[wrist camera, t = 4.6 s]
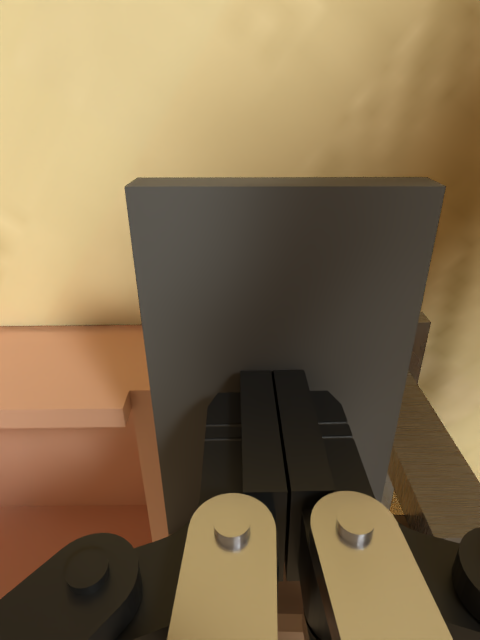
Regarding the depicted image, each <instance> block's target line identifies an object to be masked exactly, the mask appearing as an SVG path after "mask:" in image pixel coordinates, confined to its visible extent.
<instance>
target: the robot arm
mask: <svg viewBox="0 0 480 640" xmlns="http://www.w3.org/2000/svg"><path fill="white" fill-rule="evenodd" d="M284 563H285V572H286V581H300V586H301V593H302V600H303V612H302V629H303V635H304V640H480V527H479V528H475V529H473V530H471V531H469V532H468V533H466V534H465V535H464V537H463V538H462V540H461V542H460V543H456V542H453V541H449V540H445V539H441V538H438V537H434V536H430V535H426V534H423V533H420V532H417V531H414V530H412V529H409V528H407V527H405V526H404V525H402V524H400V523H398V522H397V521H396V519H395V518H394V516H393V515H392V513H391V512H390V511H389V510H388V509H387V508H386V507H385V506H384V505H383V504H382V503H380V502H379V501H377V500H376V498H375V496H374V494H373V491H372V488H371V485H370V483H369V480H368V477H367V474H366V471H365V469H364V466H363V463H362V460H361V457H360V455H359V452H358V449H357V446H356V443H355V441H354V439H353V437H352V432H351V429H350V427H349V424H348V423H347V418H346V415H345V413H344V410H343V407H342V404H341V403H340V402H339V401H338V400H337V399H336V398H335V397H334V396H333V395H332V394H331V393H330V392H329V391H328V390H325V391H310V390H309V386H308V382H307V378H306V374H305V371H304V370H303V369H300V370H273V371H272V375H271V370H253V371H240V392H227V393H217V395H216V396H215V397H214V399H213V400H212V402H211V403H210V404H209V406H208V407H207V419H206V430H205V442H204V454H203V465H202V477H201V488H200V498H199V504H198V506H197V509H196V511H195V513H194V514H193V516H192V517H191V519H190V520H189V521H188V522H187V523H186V524H185V525H184V526H183V527H182V528H181V529H179V530H178V531H177V532H175V533H173V534H172V535H170V536H168V537H165V538H163V539H160V540H157V541H154V542H151V543H148V544H145V545H142V546H139V547H136V548H133V546H132V545H131V544H130V543H129V542H128V541H127V540H126V539H124V538H123V537H121V536H118V535H116V534H111V533H94V534H90V535H86V536H83V537H81V538H78V539H76V540H74V541H73V542H71V543H69V544H68V545H66V546H65V547H63V548H62V549H61V550H60V551H58V552H57V553H56V554H55V555H53V556H52V557H51V558H50V559H49V560H47V561H46V562H45V563H44V564H43V565H41V566H40V567H39V568H38V569H36V570H35V571H34V572H33V573H32V574H30V575H29V576H28V577H27V578H25V579H24V580H23V581H22V582H21V583H19V584H18V585H17V586H16V587H15V588H13V589H12V590H11V591H10V592H8V593H7V594H6V595H5V596H4V597H2V598H1V599H0V640H278V634H277V605H278V582H281V581H283V574H284Z"/></svg>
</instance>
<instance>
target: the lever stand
mask: <svg viewBox="0 0 480 640" xmlns="http://www.w3.org/2000/svg"><path fill="white" fill-rule="evenodd" d="M430 324H431V322H430V321H429V320H428V318H427V317H426V316H425V315H424V314H423V313H422V312H420V315H419V320H418V325H417V330H416V335H415V340H414V345H413V349H412V354H411V359H410V364H409V369H408V374H407V379H406V384H405V388H404V393H403V398H402V403H401V408H400V413H399V418H398V423H397V427H396V432H395V437H394V442H393V447H392V452H391V457H390V462H389V466H388V471H387V476H386V481H385V486H384V491H383V496H382V501H381V503H382V504H383V505H384V506H385V507H386V508H387V509H388V510H390V506H391V501H392V497H393V492H394V490H395V493H396V495H397V498H398V500H399V503H400V505H401V508H402V510H403V513H404V515H405V518H406V520H407V523H408V525H409V528H410V529H412V530H414V531H417V532H420V533H423V534H426V535H430V536H434V537H438V538H441V539H445V540H449V541H453V542H456V543H460V542H461V540H462V538H463V537H464V535H465V534H466V533H468V532H469V531H471V530H473V529H475V528H479V527H480V482H479V481H478V479H477V478H476V476H475V474H474V473H473V471H472V470H471V468H470V466H469V465H468V463H467V462H466V460H465V459H464V457H463V455H462V454H461V452H460V451H459V449H458V447H457V446H456V444H455V443H454V441H453V440H452V438H451V436H450V435H449V433H448V432H447V430H446V428H445V427H444V425H443V424H442V422H441V421H440V419H439V417H438V416H437V414H436V413H435V411H434V409H433V408H432V406H431V405H430V403H429V401H428V400H427V398H426V397H425V395H424V394H423V392H422V390H421V389H420V387H419V386H418V384H417V383H418V379H419V374H420V370H421V365H422V360H423V356H424V351H425V347H426V342H427V338H428V333H429V329H430Z"/></svg>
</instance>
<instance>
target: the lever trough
mask: <svg viewBox="0 0 480 640" xmlns="http://www.w3.org/2000/svg"><path fill="white" fill-rule="evenodd" d="M445 188H446V186H444V185H442V184H440V183H438V182H436V181H434V180H432V179H430V178H428V177H296V178H136V179H135V180H133V181H132V182H131V183H129V184H128V185H126V186H125V194H126V202H127V210H128V218H129V226H130V234H131V242H132V250H133V258H134V266H135V274H136V281H137V289H138V297H139V305H140V313H141V321H142V329H143V337H144V345H145V353H146V361H147V369H148V376H149V384H150V392H151V400H152V408H153V416H154V424H155V432H156V440H157V448H158V456H159V464H160V472H161V479H162V487H163V495H164V503H165V511H166V519H167V527H168V536H170V535H172V534H173V533H175V532H177V531H178V530H179V529H181V528H182V527H183V526H184V525H185V524H186V523H187V522H188V521H189V520H190V519H191V517H192V516H193V514H194V513H195V511H196V509H197V506H198V504H199V498H200V488H201V477H202V465H203V454H204V442H205V430H206V419H207V407H208V406H209V404H210V403H211V402H212V400H213V399H214V397H215V396H216V395H217V393H227V392H240V371H253V370H271V375H272V371H273V370H300V369H303V370H304V371H305V374H306V378H307V382H308V386H309V390H310V391H325V390H328V391H329V392H330V393H331V394H332V395H333V396H334V397H335V398H336V399H337V400H338V401H339V402H340V403H341V404H342V407H343V410H344V413H345V415H346V418H347V423H348V424H349V427H350V429H351V432H352V437H353V439H354V441H355V443H356V446H357V449H358V452H359V455H360V457H361V460H362V463H363V466H364V469H365V471H366V474H367V477H368V480H369V483H370V485H371V488H372V491H373V494H374V496H375V498H376V500H377V501H379V502H380V503H381V501H382V496H383V491H384V486H385V481H386V476H387V471H388V466H389V462H390V457H391V452H392V447H393V442H394V437H395V432H396V427H397V423H398V418H399V413H400V408H401V403H402V398H403V393H404V388H405V384H406V379H407V374H408V369H409V364H410V359H411V354H412V349H413V345H414V340H415V335H416V330H417V325H418V320H419V315H420V310H421V306H422V301H423V296H424V291H425V286H426V281H427V276H428V271H429V266H430V262H431V257H432V252H433V247H434V242H435V237H436V232H437V227H438V223H439V218H440V213H441V208H442V203H443V198H444V193H445ZM393 516H394V518H395V519H396V521H397V522H398V523H400V524H402V525H404V526H405V527H407V528H409V525H408V523H407V520H406V518H405V515H393ZM409 529H410V528H409ZM302 612H303V600H302V593H301V586H300V581H286V572H285V563H284V574H283V581H281V582H278V605H277V634H278V640H304V635H303V629H302Z"/></svg>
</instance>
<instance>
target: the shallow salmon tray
mask: <svg viewBox="0 0 480 640" xmlns="http://www.w3.org/2000/svg"><path fill="white" fill-rule="evenodd" d="M94 533H111V534H116V535H118V536H121V537H123V538H124V539H126V540H127V541H128V542H129V543H130V544H131V545H132V546H133V548H136V547H139V546H142V545H145V544H148V543H151V542H154V541H157V540H160V539H163V538H165V537H168V527H167V519H166V511H165V503H164V495H163V487H162V479H161V472H160V464H159V456H158V448H157V440H156V432H155V424H154V416H153V408H152V400H151V392H150V384H149V376H148V369H147V361H146V353H145V345H144V337H143V329H142V325H84V326H0V599H1V598H2V597H4V596H5V595H6V594H7V593H8V592H10V591H11V590H12V589H13V588H15V587H16V586H17V585H18V584H19V583H21V582H22V581H23V580H24V579H25V578H27V577H28V576H29V575H30V574H32V573H33V572H34V571H35V570H36V569H38V568H39V567H40V566H41V565H43V564H44V563H45V562H46V561H47V560H49V559H50V558H51V557H52V556H53V555H55V554H56V553H57V552H58V551H60V550H61V549H62V548H63V547H65V546H66V545H68V544H69V543H71V542H73V541H74V540H76V539H78V538H81V537H83V536H86V535H90V534H94Z"/></svg>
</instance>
